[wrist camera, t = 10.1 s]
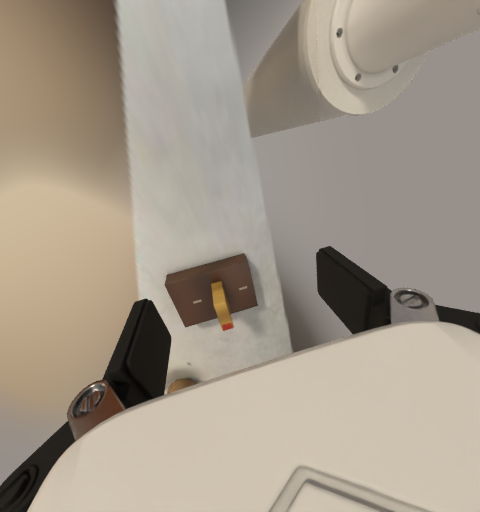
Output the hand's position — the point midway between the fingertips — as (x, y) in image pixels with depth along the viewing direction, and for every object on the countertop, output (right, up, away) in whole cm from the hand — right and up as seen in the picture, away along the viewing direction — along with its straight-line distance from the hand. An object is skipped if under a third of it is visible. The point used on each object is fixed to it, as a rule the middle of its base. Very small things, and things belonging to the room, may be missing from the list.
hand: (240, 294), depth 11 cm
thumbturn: (-3, -5, +25) cm, 25 cm away
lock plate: (-5, -4, +27) cm, 28 cm away
